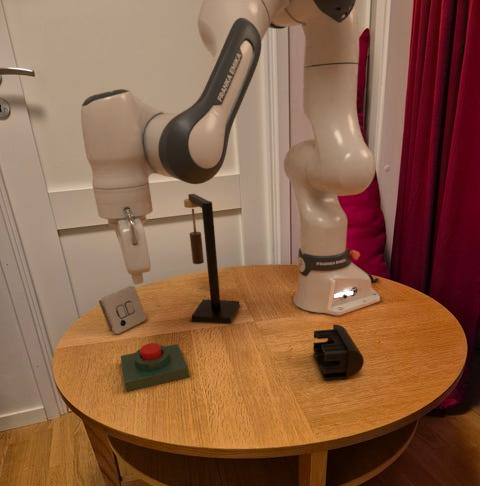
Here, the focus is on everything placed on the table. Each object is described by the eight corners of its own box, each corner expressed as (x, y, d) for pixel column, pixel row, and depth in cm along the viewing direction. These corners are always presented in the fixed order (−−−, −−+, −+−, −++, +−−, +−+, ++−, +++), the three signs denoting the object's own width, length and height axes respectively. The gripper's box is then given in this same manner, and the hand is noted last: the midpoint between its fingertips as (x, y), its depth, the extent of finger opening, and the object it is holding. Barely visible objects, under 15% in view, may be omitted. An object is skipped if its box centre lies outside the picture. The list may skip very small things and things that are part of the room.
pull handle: (205, 260, 111) (200, 207, 104) (202, 264, 108) (196, 210, 102) (194, 260, 111) (189, 207, 105) (191, 264, 109) (185, 210, 102)
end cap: (362, 379, 76) (365, 348, 73) (324, 382, 76) (326, 351, 73) (346, 351, 85) (348, 322, 82) (312, 354, 85) (313, 325, 82)
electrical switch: (116, 336, 96) (106, 299, 93) (104, 332, 99) (93, 296, 96) (147, 320, 103) (139, 286, 99) (134, 317, 106) (126, 283, 102)
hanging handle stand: (245, 295, 114) (239, 191, 101) (230, 323, 99) (222, 206, 86) (197, 293, 117) (186, 192, 104) (176, 320, 102) (160, 207, 89)
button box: (178, 352, 88) (176, 336, 86) (188, 377, 80) (186, 360, 78) (122, 364, 85) (118, 348, 83) (126, 391, 77) (122, 374, 75)
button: (160, 348, 83) (159, 341, 82) (163, 358, 80) (162, 350, 79) (140, 352, 82) (139, 345, 81) (142, 363, 79) (141, 355, 78)
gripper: (152, 213, 59) (164, 299, 65) (137, 191, 77) (148, 261, 83) (107, 218, 57) (124, 306, 64) (102, 195, 75) (116, 266, 81)
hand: (137, 281), depth 73 cm, fingers closed
